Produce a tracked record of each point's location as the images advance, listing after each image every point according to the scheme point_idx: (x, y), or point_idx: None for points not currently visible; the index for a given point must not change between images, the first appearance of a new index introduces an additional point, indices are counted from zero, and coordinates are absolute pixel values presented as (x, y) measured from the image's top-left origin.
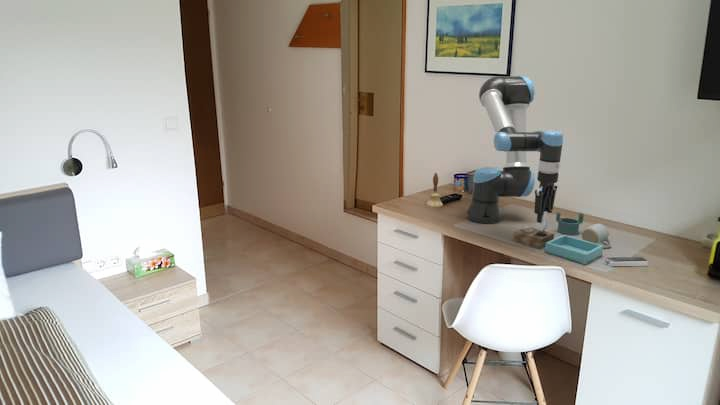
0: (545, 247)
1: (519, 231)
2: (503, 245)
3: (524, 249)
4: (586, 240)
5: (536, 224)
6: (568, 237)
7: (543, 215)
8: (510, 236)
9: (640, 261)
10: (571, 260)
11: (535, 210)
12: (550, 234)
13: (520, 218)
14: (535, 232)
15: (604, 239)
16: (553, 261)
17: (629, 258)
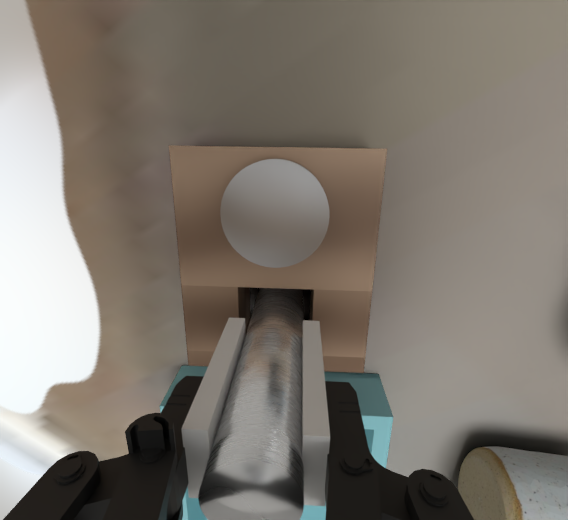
0: (171, 385)
1: (206, 176)
2: (67, 150)
3: (127, 275)
4: (471, 470)
5: (218, 343)
6: (371, 445)
7: (189, 490)
8: (257, 75)
9: None
10: None
11: (27, 511)
12: (329, 362)
13: None
14: (286, 275)
15: None
16: (118, 434)
17: None
